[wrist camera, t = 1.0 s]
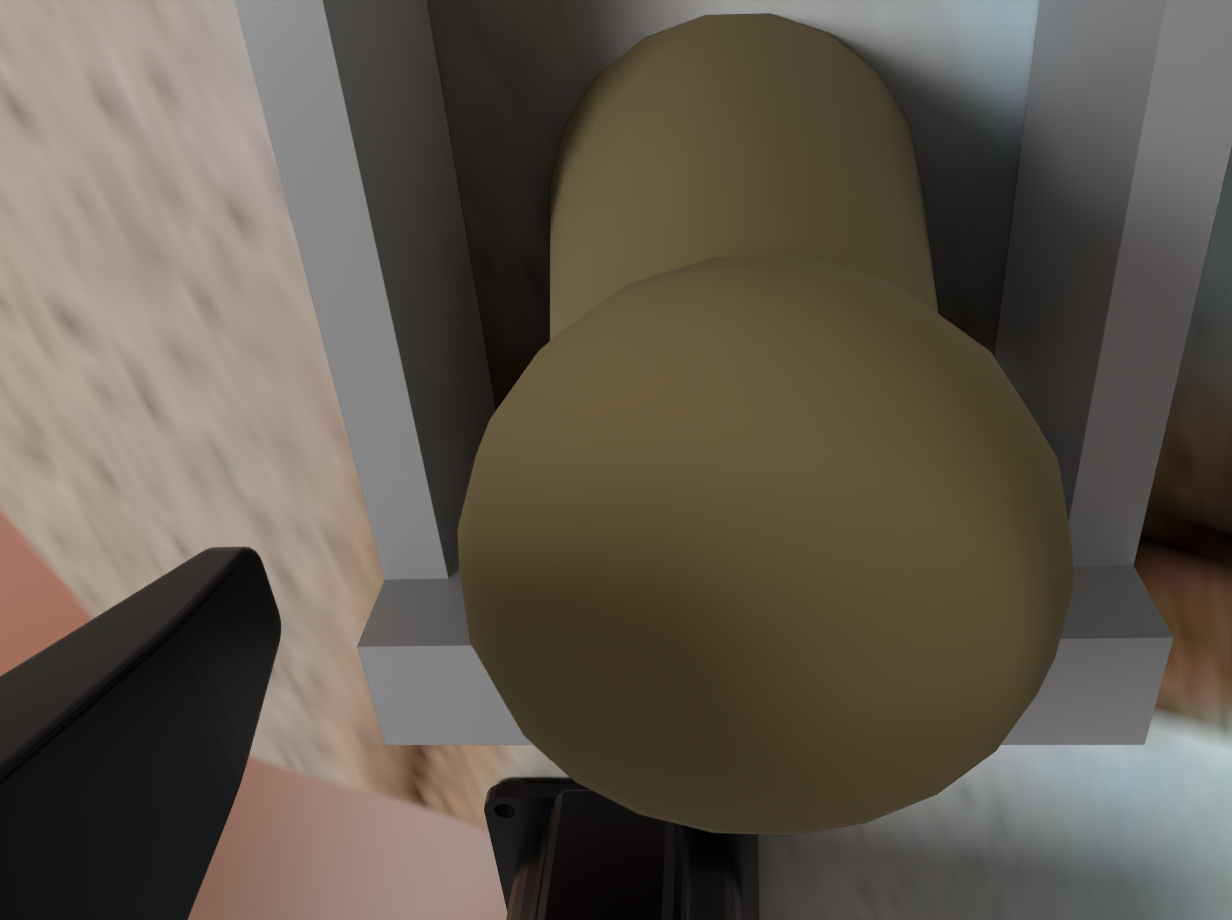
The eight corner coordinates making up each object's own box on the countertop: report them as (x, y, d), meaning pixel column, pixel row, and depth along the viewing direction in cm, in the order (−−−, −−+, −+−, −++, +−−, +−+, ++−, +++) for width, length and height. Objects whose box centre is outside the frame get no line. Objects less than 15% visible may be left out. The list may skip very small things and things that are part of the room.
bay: (1030, 501, 19) (1144, 744, 14) (464, 515, 21) (385, 744, 16) (1147, -226, 13) (1415, -245, 8) (332, -147, 14) (133, -120, 9)
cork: (655, 422, 19) (608, 996, 10) (480, 132, 16) (191, 547, 7) (972, 283, 17) (1281, 835, 8) (832, -70, 15) (1050, 142, 5)
